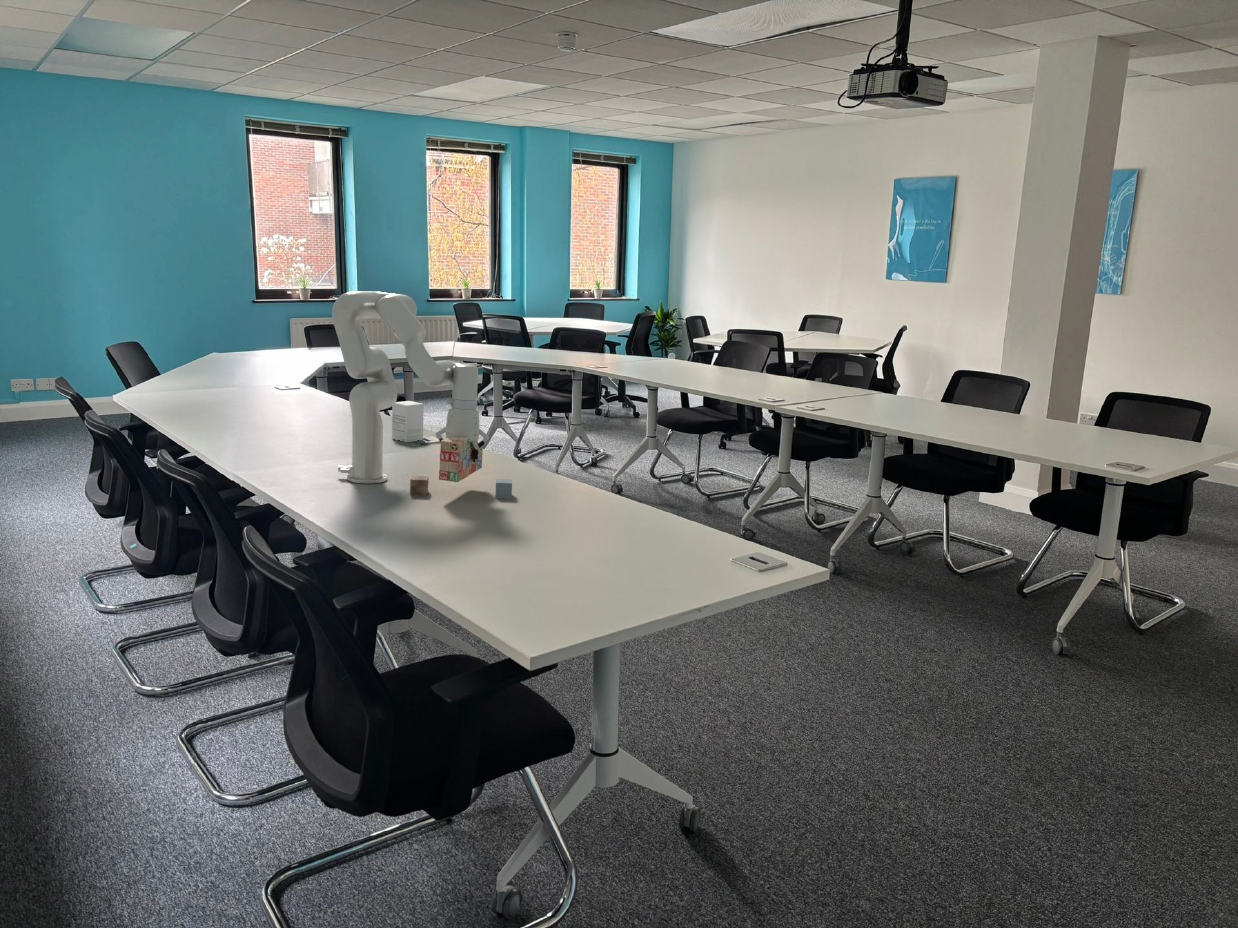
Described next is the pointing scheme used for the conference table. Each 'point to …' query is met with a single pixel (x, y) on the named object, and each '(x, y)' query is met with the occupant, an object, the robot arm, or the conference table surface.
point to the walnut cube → (419, 485)
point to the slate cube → (503, 488)
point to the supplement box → (407, 421)
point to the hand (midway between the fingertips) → (461, 460)
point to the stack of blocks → (458, 459)
